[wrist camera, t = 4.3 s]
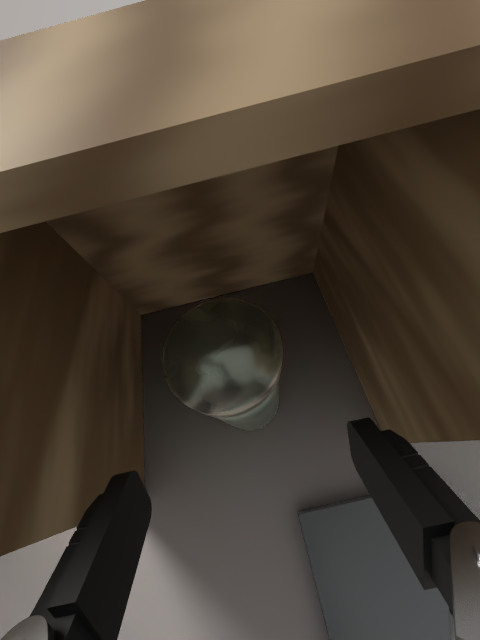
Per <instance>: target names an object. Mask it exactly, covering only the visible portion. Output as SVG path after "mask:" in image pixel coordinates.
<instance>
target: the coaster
mask: <svg viewBox="0 0 480 640" xmlns="http://www.w3.org/2000/svg"><path fill="white" fill-rule="evenodd" d="M444 482H445V481H444ZM298 516H299V520H300V524H301V528H302V532H303V536H304V540H305V544H306V548H307V552H308V555H309V559H310V563H311V567H312V571H313V575H314V579H315V583H316V587H317V591H318V595H319V599H320V603H321V607H322V611H323V615H324V619H325V623H326V627H327V631H328V635H329V639H330V640H450V633H449V614H448V605H447V603H446V601H445V600H444V598H443V596H442V595H441V593H440V591H439V590H438V588H433V589H428V590H424V589H423V587H422V585H421V584H420V582H419V580H418V578H417V577H416V575H415V573H414V571H413V569H412V568H411V566H410V564H409V562H408V561H407V559H406V557H405V555H404V554H403V552H402V550H401V548H400V547H399V545H398V543H397V541H396V539H395V538H394V536H393V534H392V532H391V531H390V529H389V527H388V525H387V524H386V522H385V520H384V518H383V516H382V515H381V513H380V511H379V509H378V508H377V506H376V504H375V502H374V501H373V499H372V497H371V495H369V496H364V497H360V498H355V499H351V500H347V501H342V502H338V503H333V504H329V505H325V506H320V507H316V508H311V509H307V510H303V511H298Z"/></svg>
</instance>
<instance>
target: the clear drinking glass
mask: <svg viewBox="0 0 480 640" xmlns="http://www.w3.org/2000/svg"><path fill="white" fill-rule="evenodd" d="M282 363H283V343H282V338H281V335H280V332H279V329H278V327H277V325H276V324H275V322H274V321H273V319H272V318H271V317H270V316H269V315H268V314H267V313H266V312H265V311H264V310H263V309H262V308H260V307H259V306H257V305H255V304H254V303H251V302H249V301H246V300H243V299H238V298H228V297H225V298H216V299H211V300H208V301H205V302H203V303H200V304H198V305H196V306H195V307H193V308H191V309H190V310H188V311H187V312H186V313H185V314H184V315H182V316H181V317H180V318H179V319H178V321H177V322H176V323H175V324H174V326H173V327H172V329H171V330H170V332H169V334H168V336H167V338H166V341H165V344H164V348H163V354H162V367H163V373H164V377H165V380H166V382H167V384H168V387H169V388H170V390H171V391H172V393H173V394H174V395H175V396H176V397H177V399H179V400H180V401H181V402H182V403H183V404H185V405H186V406H188V407H189V408H191V409H193V410H196V411H198V412H200V413H202V414H205V415H208V416H212V417H216V418H218V419H220V420H222V421H224V422H226V423H228V424H230V425H232V426H234V427H236V428H238V429H241V430H245V431H253V430H258V429H260V428H263V427H264V426H266V425H267V424H268V423H269V422H270V421H271V420H272V419H273V418H274V416H275V414H276V412H277V409H278V405H279V381H280V375H281V370H282Z"/></svg>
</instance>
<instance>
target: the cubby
mask: <svg viewBox="0 0 480 640" xmlns="http://www.w3.org/2000/svg"><path fill="white" fill-rule="evenodd" d="M312 272H313V274H314V276H315V278H316V281H317V283H318V285H319V288H320V290H321V292H322V295H323V297H324V299H325V302H326V304H327V306H328V308H329V311H330V313H331V315H332V318H333V320H334V322H335V325H336V327H337V329H338V332H339V334H340V336H341V338H342V341H343V343H344V345H345V348H346V350H347V352H348V355H349V357H350V359H351V362H352V364H353V366H354V368H355V371H356V373H357V375H358V378H359V380H360V382H361V385H362V387H363V389H364V392H365V394H366V396H367V398H368V401H369V403H370V405H371V408H372V410H373V412H374V415H375V417H376V419H377V422H378V424H379V426H380V428H381V431H384V430H388V429H390V430H392V431H393V432H395V433H397V434H398V435H400V436H402V437H403V438H405V439H406V440H407V441H408V442H409V443H419V442H444V441H469V440H480V0H146V1H142V2H138V3H135V4H131V5H127V6H124V7H121V8H117V9H113V10H109V11H106V12H102V13H98V14H95V15H91V16H88V17H84V18H80V19H77V20H73V21H70V22H66V23H63V24H59V25H55V26H51V27H48V28H45V29H41V30H37V31H34V32H30V33H26V34H23V35H19V36H15V37H12V38H8V39H5V40H1V41H0V556H2V555H5V554H7V553H10V552H12V551H15V550H18V549H20V548H23V547H25V546H28V545H30V544H33V543H36V542H38V541H41V540H43V539H46V538H48V537H51V536H53V535H56V534H59V533H61V532H64V531H66V530H69V529H71V528H74V527H77V526H78V524H79V523H80V521H81V519H82V517H83V515H84V513H85V511H86V510H87V509H88V507H89V506H90V505H91V504H92V503H93V501H94V500H95V499H96V498H97V497H98V495H100V494H103V493H104V491H105V489H106V487H107V485H108V483H109V481H110V479H111V478H112V476H114V475H116V474H120V473H125V472H129V471H133V470H135V471H137V472H138V474H139V476H140V478H141V480H142V482H143V485H144V487H145V472H144V426H143V380H142V334H141V315H142V314H146V313H151V312H155V311H159V310H163V309H167V308H171V307H175V306H179V305H183V304H187V303H191V302H195V301H199V300H203V299H207V298H211V297H215V296H219V295H223V294H227V293H231V292H235V291H239V290H243V289H247V288H251V287H255V286H259V285H263V284H267V283H271V282H275V281H279V280H284V279H288V278H292V277H296V276H300V275H304V274H308V273H312Z"/></svg>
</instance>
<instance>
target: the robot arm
mask: <svg viewBox="0 0 480 640" xmlns="http://www.w3.org/2000/svg"><path fill="white" fill-rule="evenodd" d="M347 428H348V436H349V443H350V451H351V456H352V460H353V463H354V466H355V468H356V470H357V472H358V474H359V476H360V478H361V479H362V481H363V483H364V485H365V486H366V488H367V490H368V492H369V494H370V495H371V497H372V499H373V501H374V502H375V504H376V506H377V508H378V509H379V511H380V513H381V515H382V516H383V518H384V520H385V522H386V524H387V525H388V527H389V529H390V531H391V532H392V534H393V536H394V538H395V539H396V541H397V543H398V545H399V547H400V548H401V550H402V552H403V554H404V555H405V557H406V559H407V561H408V562H409V564H410V566H411V568H412V569H413V571H414V573H415V575H416V577H417V578H418V580H419V582H420V584H421V585H422V587H423V589H424V590H428V589H433V588H438V590H439V591H440V593H441V595H442V596H443V598H444V600H445V601H446V603H447V605H448V614H449V633H450V640H480V520H479V519H478V518H477V517H476V516H475V515H474V514H473V513H472V512H471V511H470V510H469V508H468V507H467V506H466V505H465V504H464V503H463V502H462V501H461V500H460V499H459V497H458V496H457V495H456V494H455V493H454V492H453V491H452V490H451V489H450V487H449V486H448V485H447V484H446V483H445V482H444V481H443V480H442V479H441V478H440V476H439V475H438V474H437V473H436V472H435V471H434V470H433V469H432V468H431V467H429V465H428V463H427V462H426V461H425V460H424V459H423V458H422V457H421V455H419V454H418V452H417V451H416V450H415V449H414V448H413V447H412V446H411V444H410V443H409V442H408V441H407V440H406V439H405V438H403V437H402V436H400V435H398V434H397V433H395V432H393V431H392V430H390V429H388V430H384V431H380V430H379V428H378V427H377V426H376V425H375V423H374V422H373V421H372V420H371V419H370V418H368V417H367V418H363V419H359V420H354V421H350V422H348V423H347ZM151 511H152V507H151V500H150V497H149V495H148V493H147V491H146V489H145V487H144V485H143V482H142V480H141V478H140V476H139V474H138V472H137V471H135V470H133V471H129V472H125V473H120V474H116V475H114V476H112V478H111V479H110V481H109V483H108V485H107V487H106V489H105V491H104V493H103V494H100V495H98V497H97V498H96V499H95V500H94V501H93V503H92V504H91V505H90V506H89V507H88V509H87V510H86V511H85V513H84V515H83V517H82V519H81V521H80V523H79V524H78V526H77V531H75V532H74V534H73V536H72V538H71V540H70V542H69V546H68V547H66V549H65V551H64V553H63V555H62V557H61V559H60V561H59V562H58V564H57V566H56V568H55V570H54V572H53V574H52V576H51V578H50V580H49V581H48V583H47V585H46V587H45V589H44V591H43V593H42V595H41V597H40V599H39V600H38V602H37V604H36V606H35V608H34V610H33V611H32V613H31V615H30V617H28V618H26V619H24V620H23V621H21V622H20V623H18V624H17V625H16V626H14V627H13V628H12V629H11V630H10V631H9V632H8V633H7V634H6V635H5V636H4V637H3V638H2V639H1V640H117V638H118V634H119V631H120V627H121V623H122V620H123V616H124V613H125V609H126V605H127V602H128V598H129V595H130V591H131V587H132V584H133V580H134V577H135V573H136V569H137V566H138V562H139V558H140V555H141V551H142V548H143V544H144V540H145V537H146V533H147V530H148V526H149V522H150V519H151Z"/></svg>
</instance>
